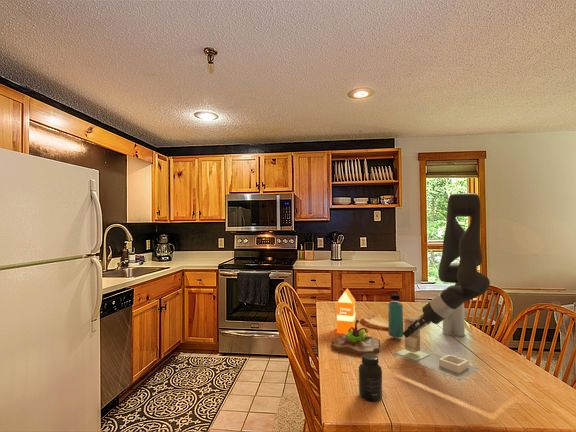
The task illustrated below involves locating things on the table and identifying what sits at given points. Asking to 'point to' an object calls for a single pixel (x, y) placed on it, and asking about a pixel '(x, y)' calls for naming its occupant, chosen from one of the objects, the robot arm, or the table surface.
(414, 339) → the wooden block tower
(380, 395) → the supplement bottle
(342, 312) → the orange juice
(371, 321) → the slice of bread
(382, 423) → the table surface
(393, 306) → the beverage bottle
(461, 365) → the board
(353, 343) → the plant
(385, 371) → the table surface
